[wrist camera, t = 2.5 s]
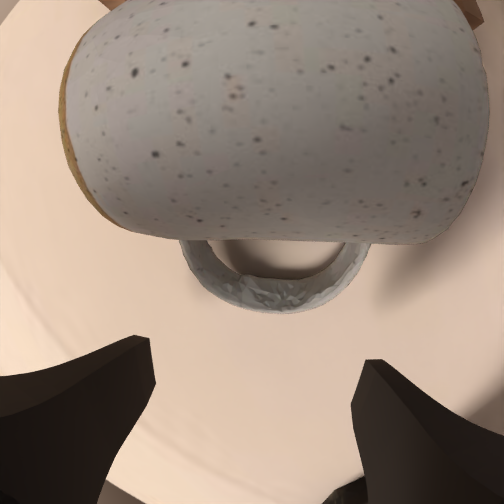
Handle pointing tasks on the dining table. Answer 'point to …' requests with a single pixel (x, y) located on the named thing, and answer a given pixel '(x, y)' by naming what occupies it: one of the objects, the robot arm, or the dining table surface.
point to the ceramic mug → (277, 129)
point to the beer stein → (350, 493)
